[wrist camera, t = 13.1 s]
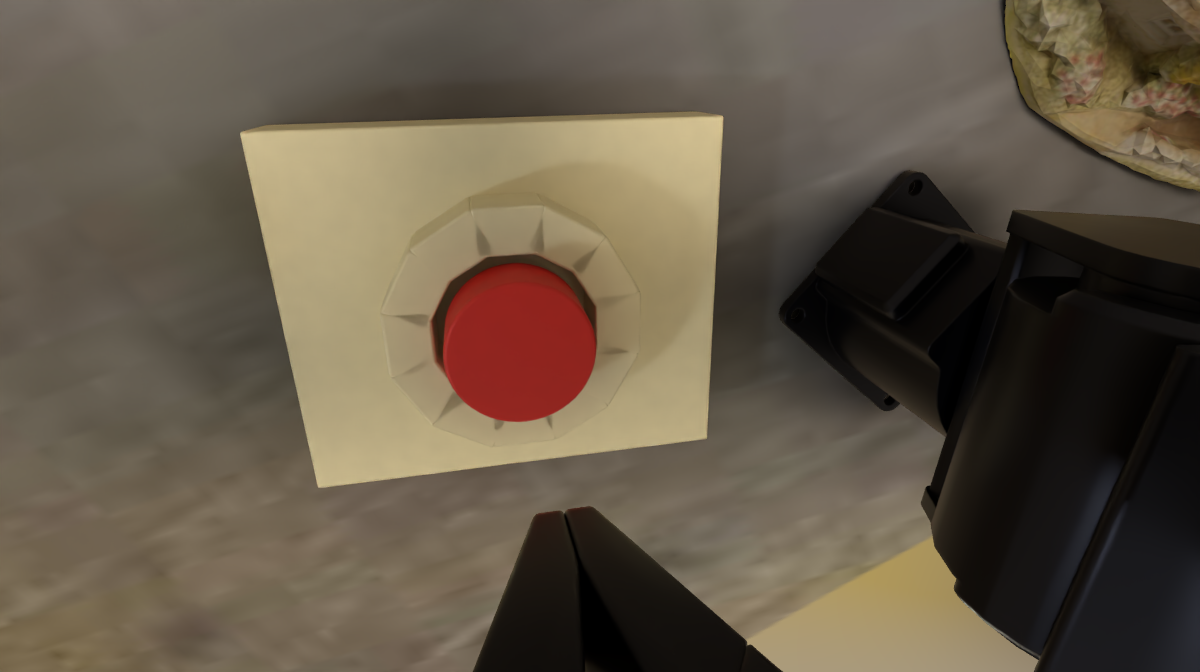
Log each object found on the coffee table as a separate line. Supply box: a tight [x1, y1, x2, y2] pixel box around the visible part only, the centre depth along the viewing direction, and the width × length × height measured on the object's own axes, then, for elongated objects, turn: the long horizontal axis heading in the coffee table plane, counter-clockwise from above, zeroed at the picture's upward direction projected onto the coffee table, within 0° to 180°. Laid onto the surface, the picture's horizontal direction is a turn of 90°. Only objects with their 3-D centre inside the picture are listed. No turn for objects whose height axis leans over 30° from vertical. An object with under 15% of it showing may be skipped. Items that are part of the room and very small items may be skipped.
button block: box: [240, 111, 723, 488], centre depth 18 cm, size 12×10×4 cm
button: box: [443, 263, 596, 422], centre depth 16 cm, size 4×4×2 cm
